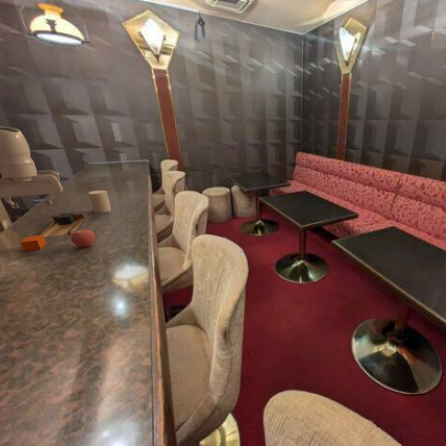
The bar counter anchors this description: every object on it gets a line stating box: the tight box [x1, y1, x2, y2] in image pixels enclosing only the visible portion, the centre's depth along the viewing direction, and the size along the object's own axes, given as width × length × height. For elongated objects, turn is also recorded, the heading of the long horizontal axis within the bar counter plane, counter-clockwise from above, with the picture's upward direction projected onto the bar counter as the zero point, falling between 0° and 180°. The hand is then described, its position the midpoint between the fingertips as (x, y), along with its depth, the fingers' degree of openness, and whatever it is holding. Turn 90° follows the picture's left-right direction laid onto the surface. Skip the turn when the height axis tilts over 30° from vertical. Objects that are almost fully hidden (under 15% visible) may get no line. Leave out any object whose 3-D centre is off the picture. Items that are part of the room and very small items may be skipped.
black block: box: [57, 212, 75, 225], centre depth 125 cm, size 5×6×4 cm
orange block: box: [20, 234, 47, 252], centre depth 102 cm, size 5×6×4 cm
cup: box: [88, 189, 112, 214], centre depth 143 cm, size 8×8×12 cm
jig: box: [38, 212, 85, 238], centre depth 120 cm, size 12×22×4 cm, turn 28°
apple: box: [70, 229, 96, 248], centre depth 103 cm, size 7×7×8 cm
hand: (33, 206), depth 99 cm, fingers open, 8 cm apart
